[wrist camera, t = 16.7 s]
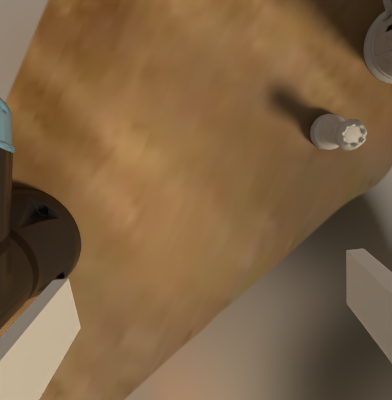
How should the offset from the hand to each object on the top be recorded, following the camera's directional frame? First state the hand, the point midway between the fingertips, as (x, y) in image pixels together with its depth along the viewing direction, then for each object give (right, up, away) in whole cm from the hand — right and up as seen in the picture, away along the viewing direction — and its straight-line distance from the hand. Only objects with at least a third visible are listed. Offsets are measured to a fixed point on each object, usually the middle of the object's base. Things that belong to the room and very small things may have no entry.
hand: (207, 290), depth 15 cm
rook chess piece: (+16, +13, +26) cm, 33 cm away
